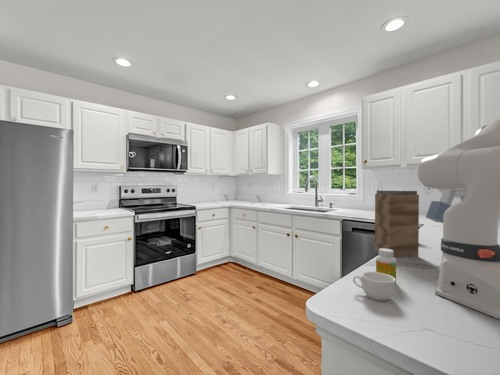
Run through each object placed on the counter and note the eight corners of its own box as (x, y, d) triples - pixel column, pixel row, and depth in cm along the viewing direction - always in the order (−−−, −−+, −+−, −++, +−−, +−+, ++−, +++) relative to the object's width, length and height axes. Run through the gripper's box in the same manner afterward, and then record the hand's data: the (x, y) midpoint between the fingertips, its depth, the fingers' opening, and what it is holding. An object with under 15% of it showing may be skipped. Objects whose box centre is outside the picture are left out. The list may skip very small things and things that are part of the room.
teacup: (397, 296, 65) (397, 275, 65) (393, 307, 59) (393, 284, 59) (356, 286, 71) (356, 268, 71) (349, 296, 65) (349, 275, 65)
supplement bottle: (393, 286, 71) (393, 253, 71) (373, 281, 75) (373, 249, 75) (398, 281, 75) (398, 249, 75) (379, 277, 79) (379, 246, 79)
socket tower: (419, 256, 104) (420, 191, 104) (389, 257, 102) (390, 190, 102) (402, 250, 114) (402, 190, 114) (374, 251, 112) (375, 190, 112)
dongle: (462, 177, 109) (452, 172, 108) (445, 223, 108) (434, 218, 107) (452, 177, 114) (442, 172, 113) (435, 221, 113) (425, 217, 112)
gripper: (455, 191, 123) (433, 176, 121) (501, 191, 103) (475, 174, 101) (449, 202, 122) (427, 188, 121) (494, 204, 102) (469, 187, 101)
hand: (449, 181), depth 111 cm, fingers closed on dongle, 4 cm apart
